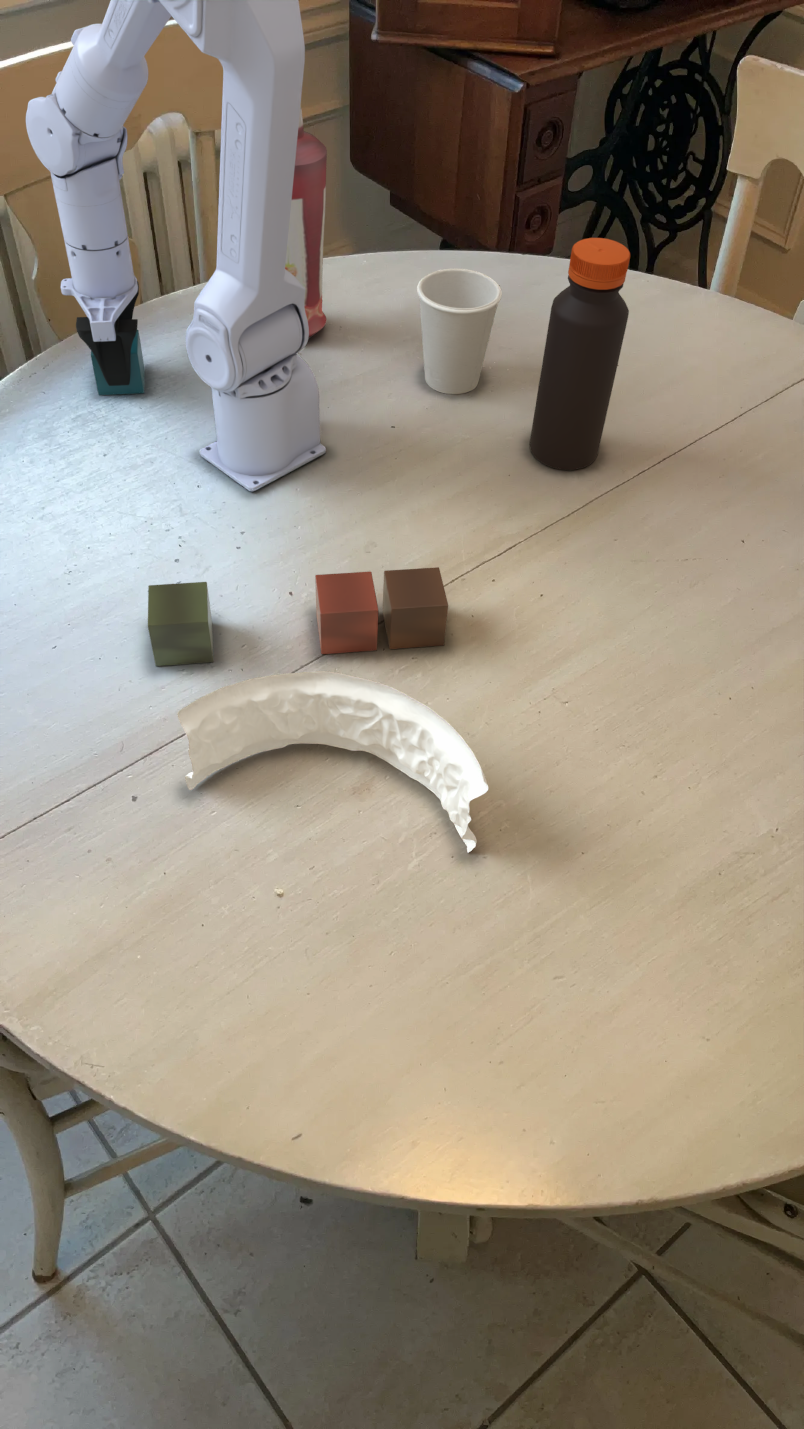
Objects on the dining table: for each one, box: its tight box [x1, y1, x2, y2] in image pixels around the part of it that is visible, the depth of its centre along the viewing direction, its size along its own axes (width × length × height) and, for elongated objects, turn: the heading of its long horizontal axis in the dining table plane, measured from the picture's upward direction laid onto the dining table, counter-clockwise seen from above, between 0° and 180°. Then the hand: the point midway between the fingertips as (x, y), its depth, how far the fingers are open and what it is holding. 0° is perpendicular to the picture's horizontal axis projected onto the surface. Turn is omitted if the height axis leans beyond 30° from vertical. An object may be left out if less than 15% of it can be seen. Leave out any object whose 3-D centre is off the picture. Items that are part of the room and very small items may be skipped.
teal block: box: [90, 329, 146, 396], centre depth 106 cm, size 4×4×4 cm
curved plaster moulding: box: [176, 670, 489, 854], centre depth 72 cm, size 11×20×8 cm, turn 97°
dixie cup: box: [416, 268, 503, 395], centre depth 107 cm, size 8×8×10 cm
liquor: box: [285, 104, 328, 339], centre depth 105 cm, size 7×7×28 cm
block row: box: [147, 566, 449, 667], centre depth 84 cm, size 23×4×4 cm, turn 98°
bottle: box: [528, 237, 631, 471], centre depth 96 cm, size 7×7×20 cm
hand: (119, 369), depth 107 cm, fingers closed on teal block, 4 cm apart
